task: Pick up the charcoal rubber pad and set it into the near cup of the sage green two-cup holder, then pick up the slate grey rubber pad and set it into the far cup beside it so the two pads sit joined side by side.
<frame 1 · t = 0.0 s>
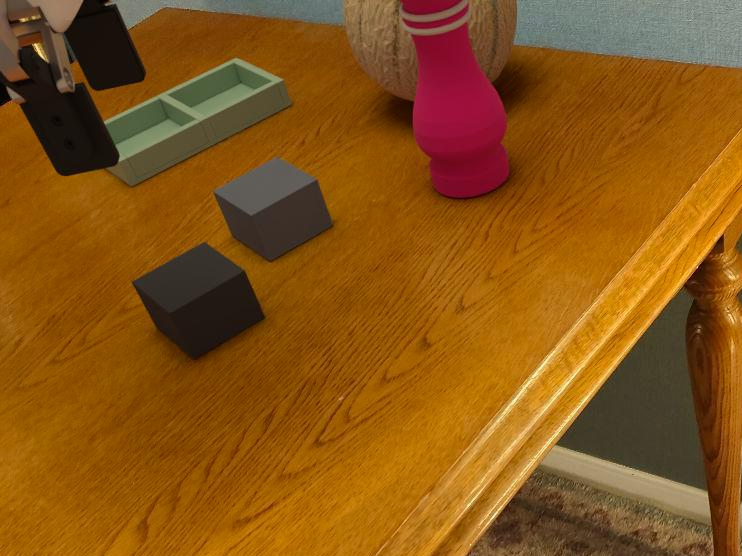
hand: (106, 124, 54), 18 cm above the table, tool pointing down, fingers open, 9 cm apart
pepper mill: (472, 180, 80), on the table
pad b: (282, 231, 79), on the table
pad a: (210, 322, 72), on the table
holder: (191, 131, 94), on the table
cantaloupe: (450, 97, 91), on the table
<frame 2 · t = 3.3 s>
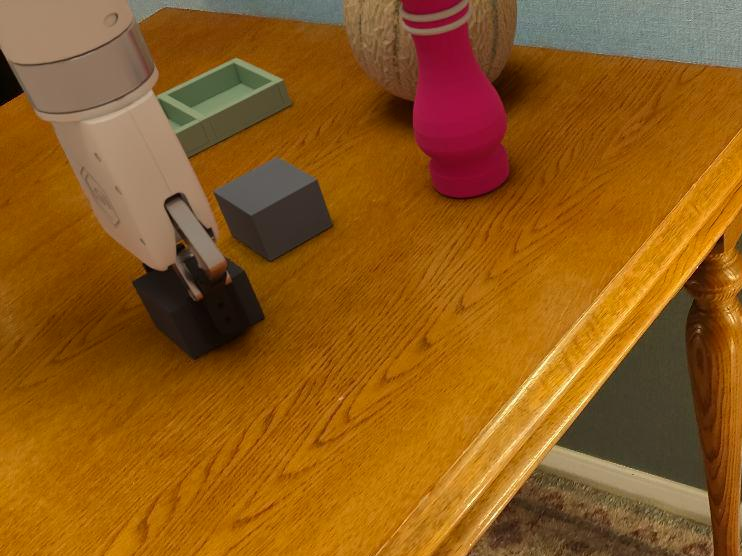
hand: (207, 315, 72), 1 cm above the table, tool pointing down, fingers closed on pad a, 6 cm apart
pad a: (210, 322, 72), on the table, touching gripper
everything else where it was.
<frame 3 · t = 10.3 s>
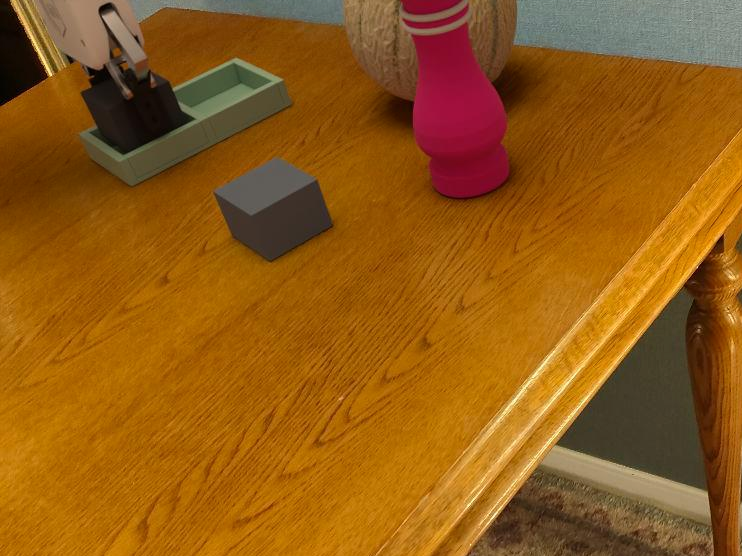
hand: (140, 123, 90), 3 cm above the table, tool pointing down, fingers closed on pad a, 6 cm apart
pad a: (144, 129, 91), point 2 cm above the table, touching gripper
everything else where it was.
when the fingers open (3 cm above the table, at t = 16.3 s): pad a drops 2 cm, resting on holder.
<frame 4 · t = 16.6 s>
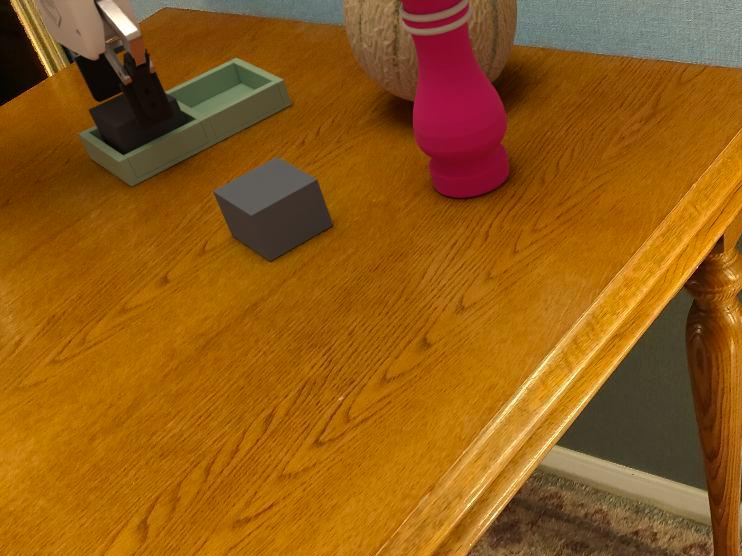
hand: (133, 108, 89), 4 cm above the table, tool pointing down, fingers open, 9 cm apart
pad a: (151, 146, 92), resting on holder
everything else where it was.
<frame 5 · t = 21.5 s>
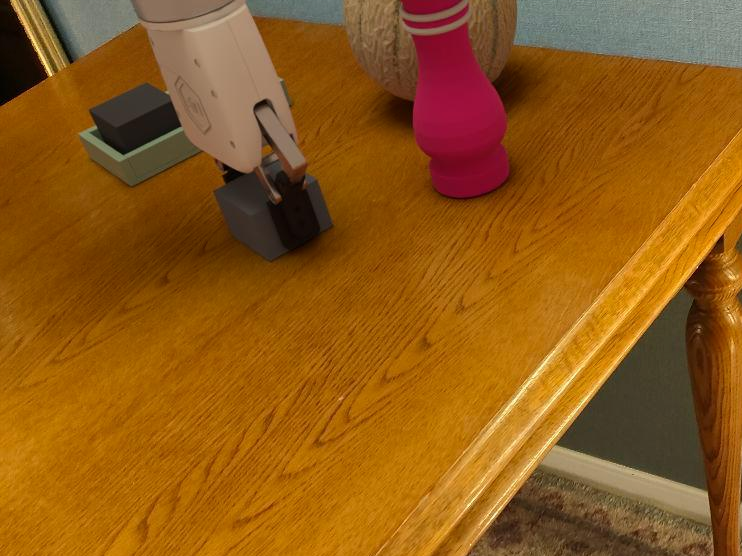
hand: (279, 224, 79), 1 cm above the table, tool pointing down, fingers closed on pad b, 6 cm apart
pad b: (282, 231, 79), on the table, touching gripper
everything else where it was.
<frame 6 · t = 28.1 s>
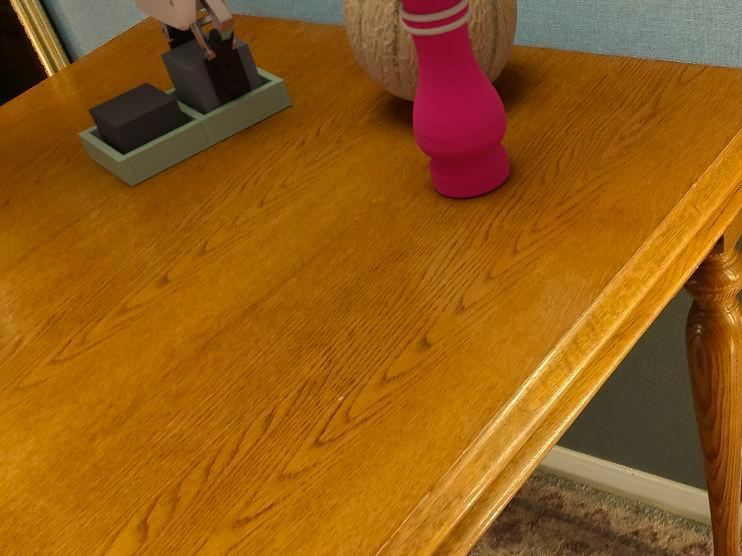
hand: (217, 86, 93), 3 cm above the table, tool pointing down, fingers closed on pad b, 6 cm apart
pad b: (220, 92, 94), point 2 cm above the table, touching gripper
everything else where it was.
when the fingers open (3 cm above the table, at t = 34.1 s): pad b drops 2 cm, resting on holder.
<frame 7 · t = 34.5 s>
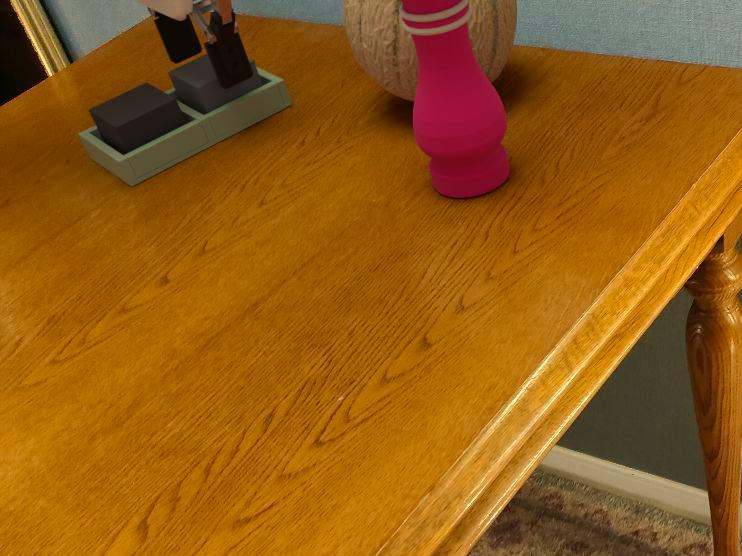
hand: (212, 69, 92), 4 cm above the table, tool pointing down, fingers open, 9 cm apart
pad b: (227, 108, 95), resting on holder
everything else where it was.
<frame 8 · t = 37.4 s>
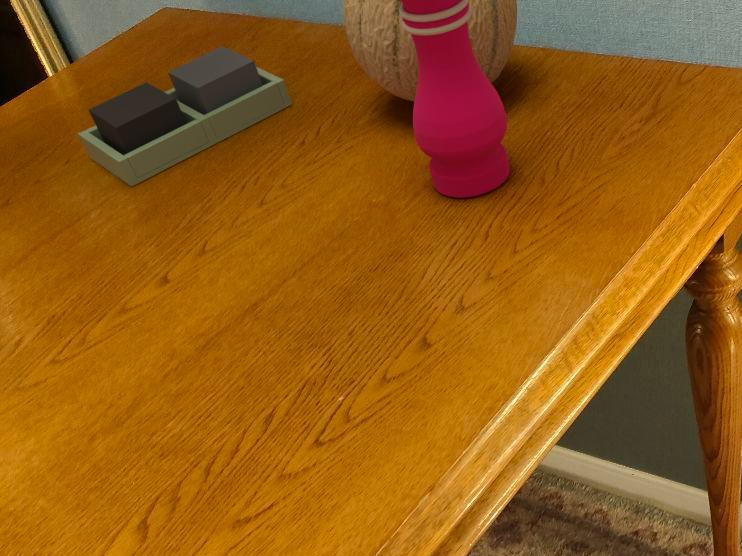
nothing on the table moved.
at the end: pad a 0.0 cm from the target spot in the holder, point 0.4 cm above the holder's base; pad b 0.0 cm from the target spot in the holder, point 0.4 cm above the holder's base; pad b tilted 0° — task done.
